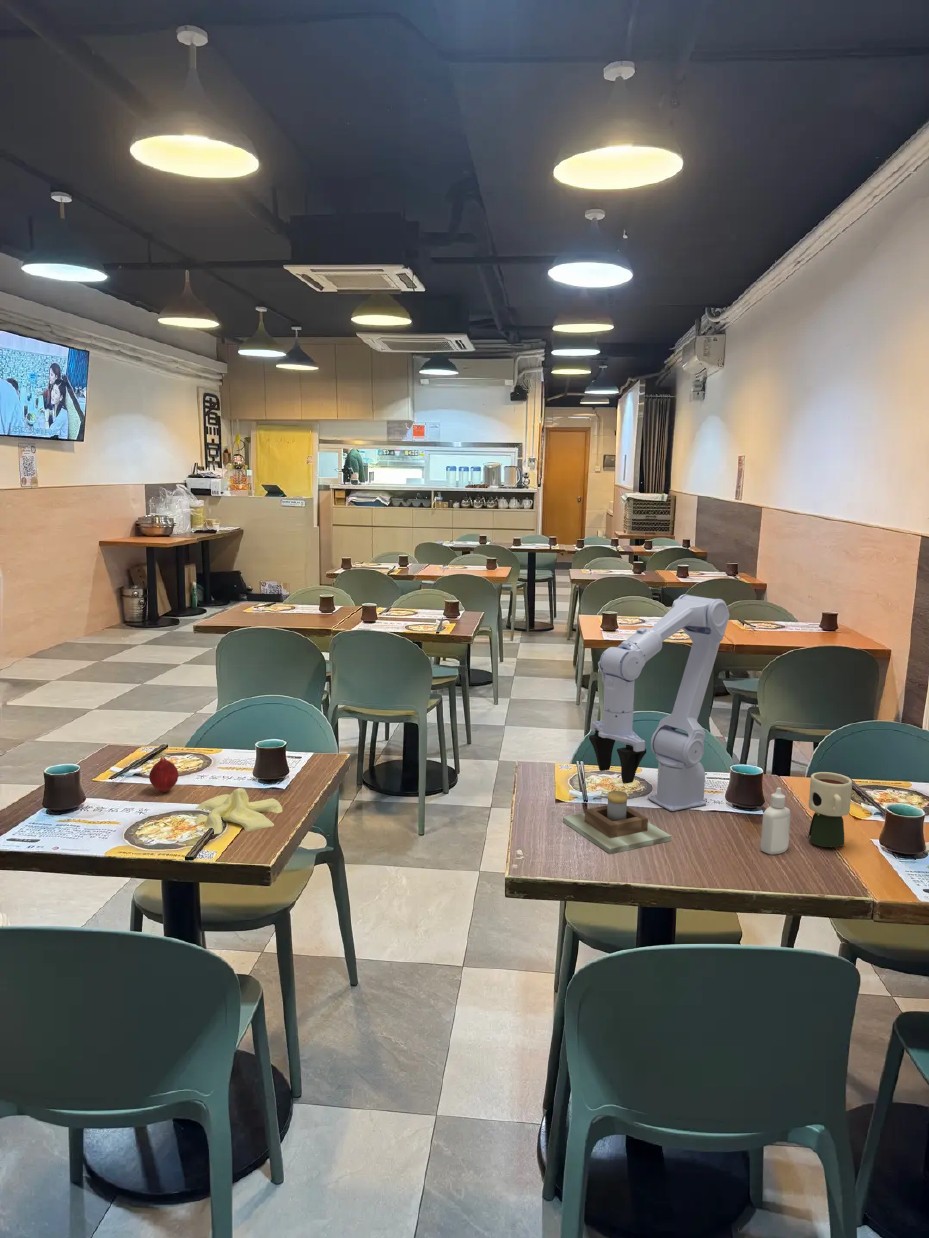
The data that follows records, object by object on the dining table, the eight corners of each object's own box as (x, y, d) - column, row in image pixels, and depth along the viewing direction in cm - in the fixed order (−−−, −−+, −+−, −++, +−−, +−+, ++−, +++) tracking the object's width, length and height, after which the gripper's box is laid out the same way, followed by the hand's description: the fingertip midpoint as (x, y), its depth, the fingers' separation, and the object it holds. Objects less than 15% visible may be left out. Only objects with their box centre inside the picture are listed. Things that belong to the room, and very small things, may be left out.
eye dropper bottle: (794, 854, 153) (799, 792, 151) (764, 855, 152) (768, 792, 150) (783, 844, 157) (788, 783, 155) (754, 845, 157) (759, 784, 155)
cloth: (205, 798, 178) (204, 770, 177) (292, 799, 178) (291, 771, 177) (167, 842, 156) (166, 811, 155) (267, 844, 156) (266, 812, 155)
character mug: (798, 830, 163) (803, 767, 161) (836, 833, 162) (842, 769, 160) (813, 855, 153) (819, 787, 151) (854, 857, 152) (861, 789, 150)
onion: (184, 790, 180) (183, 755, 179) (162, 799, 175) (160, 762, 174) (167, 785, 183) (165, 750, 182) (144, 793, 178) (142, 757, 177)
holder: (620, 810, 172) (621, 794, 172) (670, 840, 158) (671, 823, 157) (562, 821, 166) (563, 804, 166) (609, 853, 152) (610, 835, 152)
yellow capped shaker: (619, 825, 165) (621, 789, 163) (629, 833, 161) (630, 796, 160) (602, 828, 163) (604, 791, 162) (612, 835, 160) (613, 798, 159)
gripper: (580, 702, 167) (578, 767, 169) (624, 721, 154) (621, 791, 156) (609, 698, 170) (606, 762, 172) (655, 716, 157) (651, 785, 159)
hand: (615, 776), depth 164 cm, fingers open, 7 cm apart
